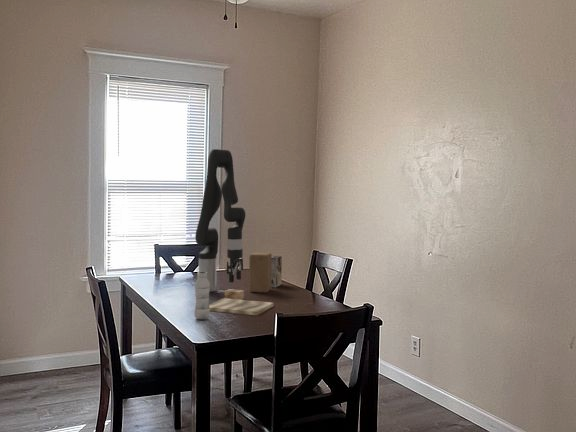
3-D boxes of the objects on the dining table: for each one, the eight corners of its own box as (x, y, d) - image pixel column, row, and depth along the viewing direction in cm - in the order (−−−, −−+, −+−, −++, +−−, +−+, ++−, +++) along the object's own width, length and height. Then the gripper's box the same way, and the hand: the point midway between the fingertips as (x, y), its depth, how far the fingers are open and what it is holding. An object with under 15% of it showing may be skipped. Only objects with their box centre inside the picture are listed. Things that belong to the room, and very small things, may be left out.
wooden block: (267, 293, 303) (267, 255, 301) (248, 292, 305) (248, 254, 303) (271, 289, 313) (271, 252, 311) (253, 288, 315) (253, 251, 313)
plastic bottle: (194, 317, 251) (194, 271, 249) (210, 317, 251) (210, 271, 250) (193, 321, 244) (193, 274, 243) (209, 321, 245) (210, 274, 243)
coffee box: (270, 283, 329) (271, 255, 328) (281, 284, 327) (282, 256, 326) (265, 286, 320) (265, 257, 319) (276, 287, 318) (276, 258, 317)
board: (204, 310, 264) (204, 306, 264) (223, 301, 283) (223, 298, 283) (257, 315, 255) (257, 312, 255) (273, 305, 274) (273, 302, 274)
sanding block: (224, 299, 287) (224, 290, 287) (229, 297, 291) (229, 288, 291) (238, 301, 284) (238, 292, 283) (243, 299, 288) (243, 290, 288)
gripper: (233, 246, 294) (234, 278, 295) (221, 249, 280) (222, 282, 281) (247, 246, 291) (247, 279, 292) (235, 250, 278) (236, 283, 279)
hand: (235, 280), depth 287 cm, fingers open, 8 cm apart
